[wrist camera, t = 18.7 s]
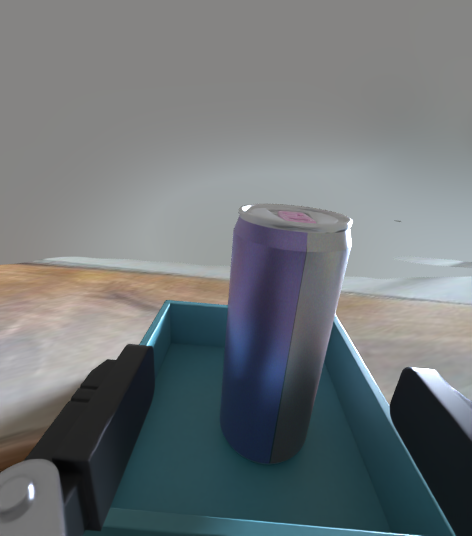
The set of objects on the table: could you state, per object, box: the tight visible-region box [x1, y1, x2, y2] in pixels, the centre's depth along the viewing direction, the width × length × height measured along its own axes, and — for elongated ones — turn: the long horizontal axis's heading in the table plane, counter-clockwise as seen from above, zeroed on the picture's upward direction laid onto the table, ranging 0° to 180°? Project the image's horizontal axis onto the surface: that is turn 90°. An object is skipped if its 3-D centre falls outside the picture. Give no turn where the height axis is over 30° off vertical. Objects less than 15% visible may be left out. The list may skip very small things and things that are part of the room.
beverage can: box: [220, 204, 352, 464], centre depth 16 cm, size 6×6×15 cm
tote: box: [83, 300, 456, 536], centre depth 19 cm, size 17×16×5 cm
